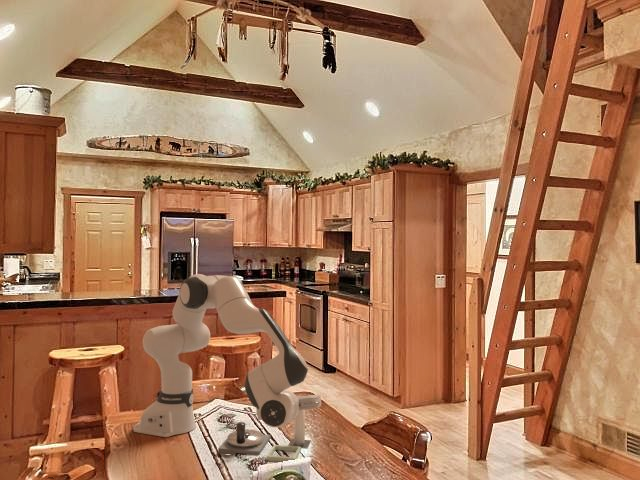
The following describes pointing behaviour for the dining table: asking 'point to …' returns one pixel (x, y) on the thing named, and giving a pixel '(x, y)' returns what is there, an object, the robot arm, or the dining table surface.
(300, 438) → the pin
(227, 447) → the crank base
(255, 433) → the crank
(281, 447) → the tray
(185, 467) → the dining table surface
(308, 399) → the robot arm
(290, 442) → the socket plate
